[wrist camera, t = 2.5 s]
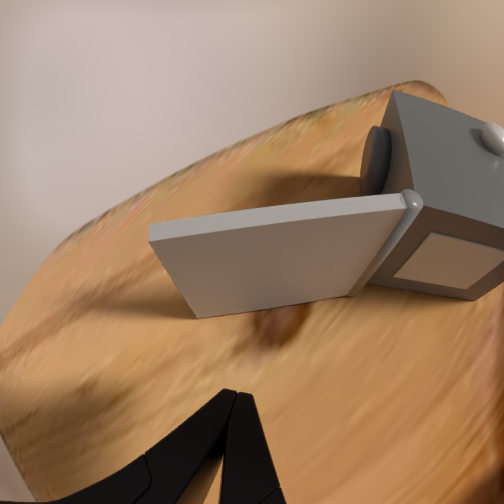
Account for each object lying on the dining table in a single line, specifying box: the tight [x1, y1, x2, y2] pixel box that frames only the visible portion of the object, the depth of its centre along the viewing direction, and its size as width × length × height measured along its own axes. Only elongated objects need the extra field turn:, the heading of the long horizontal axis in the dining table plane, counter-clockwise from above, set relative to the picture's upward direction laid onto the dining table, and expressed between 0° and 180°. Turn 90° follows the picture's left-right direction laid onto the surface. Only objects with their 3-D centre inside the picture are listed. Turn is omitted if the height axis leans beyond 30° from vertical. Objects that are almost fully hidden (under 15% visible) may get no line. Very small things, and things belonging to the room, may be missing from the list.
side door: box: [148, 189, 423, 318], centre depth 12 cm, size 9×1×8 cm, turn 98°
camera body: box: [360, 90, 504, 301], centre depth 14 cm, size 8×9×8 cm
